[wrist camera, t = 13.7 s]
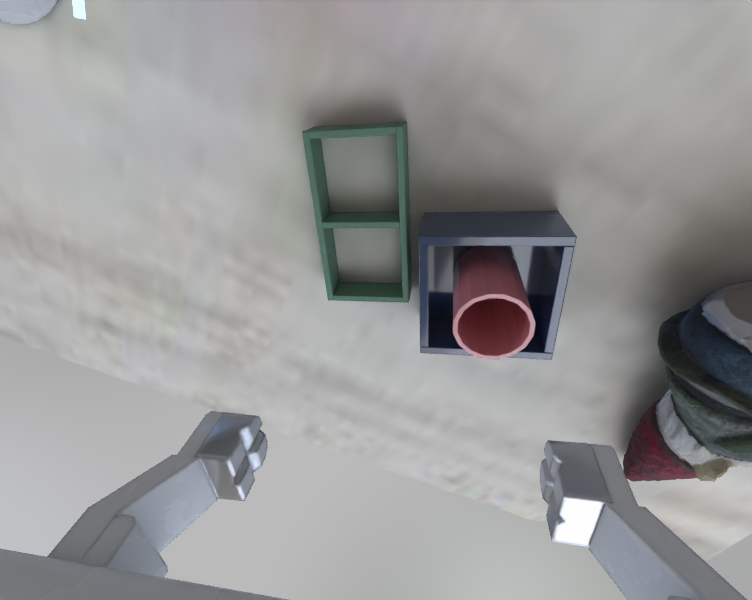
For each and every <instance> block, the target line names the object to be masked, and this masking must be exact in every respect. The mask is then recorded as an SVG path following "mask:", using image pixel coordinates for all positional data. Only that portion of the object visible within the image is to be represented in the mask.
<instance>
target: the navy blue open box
mask: <svg viewBox="0 0 752 600" xmlns="http://www.w3.org/2000/svg"><path fill="white" fill-rule="evenodd" d="M576 238H577V236H576V235H575V234H574V232H573V231H572V229H571V228H570V227H569V225H568V224H567V222H566V221H565V220H564V218H563V217H562V215H561V214H560V213H559V212H558V211H518V212H444V213H424V214H423V218H422V223H421V228H420V233H419V296H420V352H421V353H432V354H452V355H471V356H474V355H472V354H469V353H468V352H466V351H465V350H464V349H463V348H462V347H461V346H459V345H458V343H457V341H456V339H455V337H454V334H453V271H454V266H455V264H456V262H457V260H458V259H459V258H460V256H461V255H462V254H463V253H465V252H466V251H468V250H469V249H471V248H473V247H476V246H498V247H501V248H503V249H505V250H507V251H508V252H509V253H510V254H511V255H512V256H513V257H514V259H515V261H516V263H517V266H518V269H519V271H520V275H521V278H522V281H523V284H524V287H525V290H526V294H527V297H528V300H529V303H530V306H531V309H532V313H533V316H534V319H535V322H536V325H535V331H534V336H533V338H532V339H531V340H530V342H529V343H528V345H527V346H526V347H525V348H524V349H522V350H521V351H519V352H518V353H516V354H515V355H513V356H509V357H510V358H529V359H549V360H551V359H552V355H553V350H554V345H555V341H556V336H557V331H558V326H559V321H560V316H561V311H562V306H563V301H564V296H565V291H566V286H567V281H568V276H569V271H570V267H571V262H572V257H573V252H574V246H575V243H576Z"/></svg>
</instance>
